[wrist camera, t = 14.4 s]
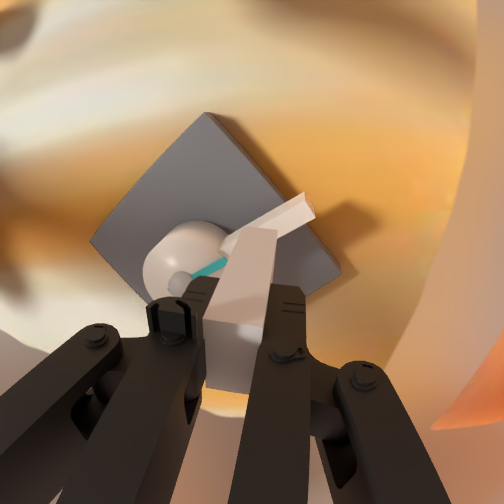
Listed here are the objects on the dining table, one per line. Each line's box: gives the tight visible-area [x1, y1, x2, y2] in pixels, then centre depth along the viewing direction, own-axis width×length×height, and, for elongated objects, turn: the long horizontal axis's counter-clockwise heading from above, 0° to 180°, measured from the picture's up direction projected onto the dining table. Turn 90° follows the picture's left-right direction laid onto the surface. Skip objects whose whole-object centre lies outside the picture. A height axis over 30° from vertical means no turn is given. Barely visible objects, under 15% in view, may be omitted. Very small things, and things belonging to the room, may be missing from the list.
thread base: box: [89, 112, 342, 304], centre depth 32 cm, size 20×20×2 cm
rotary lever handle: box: [143, 192, 315, 300], centre depth 27 cm, size 16×8×6 cm, turn 124°
